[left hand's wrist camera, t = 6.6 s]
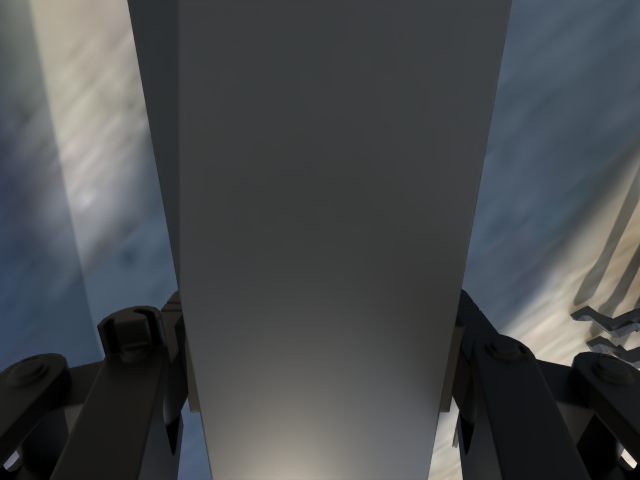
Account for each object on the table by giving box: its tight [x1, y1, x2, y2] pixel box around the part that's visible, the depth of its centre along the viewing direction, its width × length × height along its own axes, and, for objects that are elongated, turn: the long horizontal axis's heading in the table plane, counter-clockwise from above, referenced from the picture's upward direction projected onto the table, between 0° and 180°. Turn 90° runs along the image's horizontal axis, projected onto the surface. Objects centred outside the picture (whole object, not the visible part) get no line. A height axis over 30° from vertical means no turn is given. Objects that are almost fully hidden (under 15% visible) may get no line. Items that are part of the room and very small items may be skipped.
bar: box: [127, 0, 512, 480], centre depth 8 cm, size 21×5×8 cm, turn 0°
